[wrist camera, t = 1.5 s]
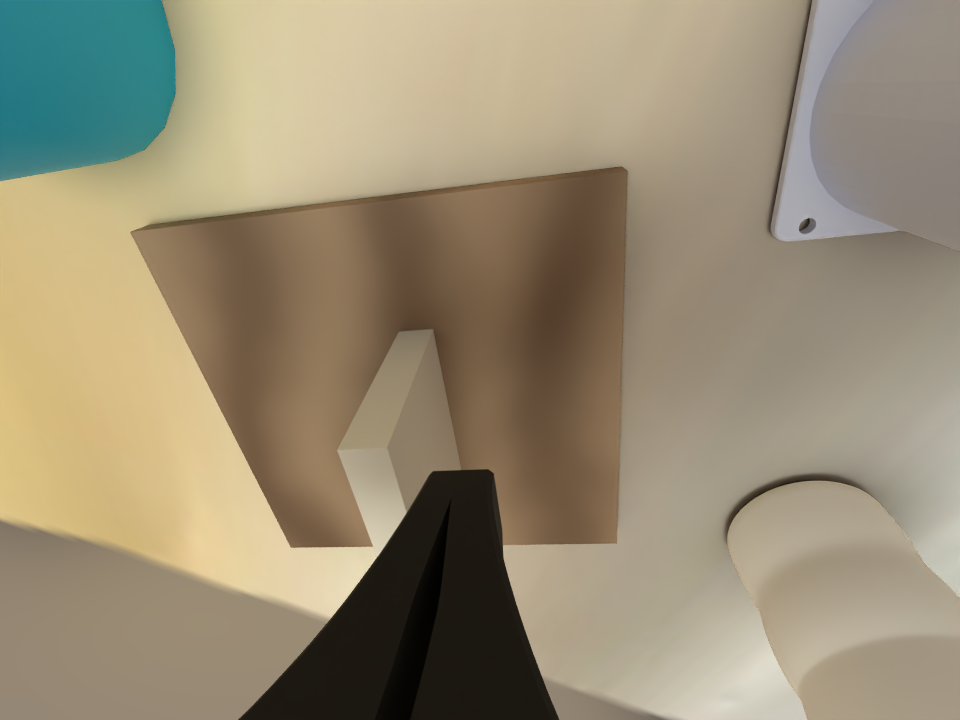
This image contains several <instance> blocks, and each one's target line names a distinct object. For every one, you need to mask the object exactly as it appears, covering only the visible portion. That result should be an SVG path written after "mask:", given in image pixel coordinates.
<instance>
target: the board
mask: <svg viewBox="0 0 960 720" xmlns="http://www.w3.org/2000/svg"><path fill="white" fill-rule="evenodd" d="M626 203H627V170H625V169H624V168H623V167H615V168H607V169H599V170H591V171H583V172H574V173H566V174H558V175H550V176H542V177H534V178H526V179H518V180H510V181H502V182H494V183H485V184H477V185H469V186H461V187H453V188H445V189H437V190H429V191H421V192H413V193H405V194H396V195H388V196H380V197H372V198H364V199H356V200H348V201H340V202H332V203H324V204H316V205H307V206H299V207H291V208H283V209H275V210H267V211H259V212H251V213H243V214H235V215H227V216H218V217H210V218H202V219H194V220H186V221H178V222H170V223H162V224H154V225H148V226H145V227H142V228H140V229H137V230H134V231H131V232H130V233H131V235H132V236H133V238H134V240H135V242H136V244H137V246H138V248H139V250H140V252H141V254H142V256H143V258H144V260H145V262H146V264H147V266H148V268H149V270H150V272H151V274H152V276H153V278H154V280H155V282H156V284H157V286H158V288H159V289H160V291H161V293H162V295H163V297H164V299H165V301H166V303H167V305H168V307H169V309H170V311H171V313H172V315H173V317H174V319H175V321H176V323H177V325H178V327H179V329H180V331H181V333H182V335H183V337H184V339H185V340H186V342H187V344H188V346H189V348H190V350H191V352H192V354H193V356H194V358H195V360H196V362H197V364H198V366H199V368H200V370H201V372H202V374H203V376H204V378H205V380H206V382H207V384H208V386H209V388H210V390H211V391H212V393H213V395H214V397H215V399H216V401H217V403H218V405H219V407H220V409H221V411H222V413H223V415H224V417H225V419H226V421H227V423H228V425H229V427H230V429H231V431H232V433H233V435H234V437H235V439H236V441H237V442H238V444H239V446H240V448H241V450H242V452H243V454H244V456H245V458H246V460H247V462H248V464H249V466H250V468H251V470H252V472H253V474H254V476H255V478H256V480H257V482H258V484H259V486H260V488H261V490H262V492H263V494H264V495H265V497H266V499H267V501H268V503H269V505H270V507H271V509H272V511H273V513H274V515H275V517H276V519H277V521H278V523H279V525H280V527H281V529H282V531H283V533H284V535H285V537H286V539H287V541H288V543H289V545H290V546H291V548H296V547H373V545H372V542H371V540H370V537H369V534H368V532H367V529H366V526H365V523H364V521H363V518H362V515H361V513H360V510H359V507H358V505H357V502H356V499H355V497H354V494H353V491H352V489H351V486H350V483H349V481H348V478H347V475H346V473H345V470H344V467H343V465H342V462H341V459H340V457H339V454H338V451H337V449H338V447H339V445H340V444H341V442H342V440H343V438H344V436H345V434H346V432H347V430H348V428H349V426H350V424H351V422H352V421H353V419H354V417H355V415H356V413H357V411H358V409H359V407H360V405H361V403H362V401H363V399H364V398H365V396H366V394H367V392H368V390H369V388H370V386H371V384H372V382H373V380H374V378H375V376H376V375H377V373H378V371H379V369H380V367H381V365H382V363H383V361H384V359H385V357H386V355H387V353H388V352H389V350H390V348H391V346H392V344H393V342H394V340H395V338H396V336H397V334H398V332H401V331H413V330H425V329H433V331H434V336H435V341H436V346H437V351H438V356H439V361H440V366H441V371H442V376H443V381H444V386H445V391H446V396H447V401H448V406H449V411H450V416H451V421H452V425H453V430H454V435H455V440H456V445H457V450H458V455H459V460H460V465H461V470H477V469H489V470H490V471H491V472H493V473H494V478H495V485H496V491H497V498H498V504H499V511H500V517H501V524H502V533H503V545H531V544H610V543H617V518H618V483H619V448H620V413H621V378H622V343H623V308H624V273H625V238H626Z"/></svg>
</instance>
